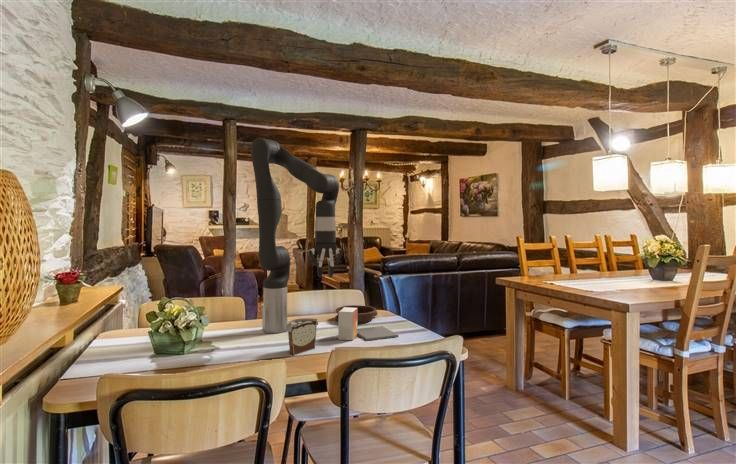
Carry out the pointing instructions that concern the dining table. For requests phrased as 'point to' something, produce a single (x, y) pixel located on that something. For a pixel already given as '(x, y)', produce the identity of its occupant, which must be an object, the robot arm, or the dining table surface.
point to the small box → (347, 323)
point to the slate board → (375, 333)
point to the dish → (361, 313)
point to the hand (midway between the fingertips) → (325, 276)
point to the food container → (301, 335)
